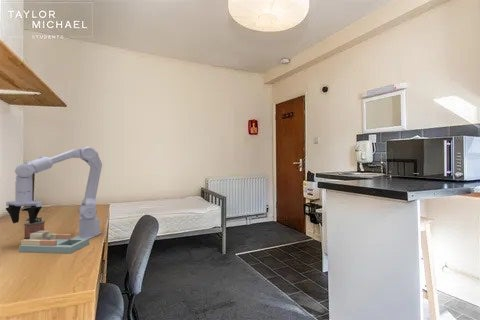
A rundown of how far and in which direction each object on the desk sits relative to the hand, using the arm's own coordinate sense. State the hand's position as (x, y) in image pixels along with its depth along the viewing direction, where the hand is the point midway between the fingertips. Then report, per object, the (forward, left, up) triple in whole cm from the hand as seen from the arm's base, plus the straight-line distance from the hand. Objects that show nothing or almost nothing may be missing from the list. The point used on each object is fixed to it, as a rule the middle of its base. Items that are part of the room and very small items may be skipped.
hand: (24, 222), depth 115 cm
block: (0, +7, -8) cm, 11 cm away
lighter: (-13, -7, -11) cm, 18 cm away
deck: (0, +14, -10) cm, 18 cm away
